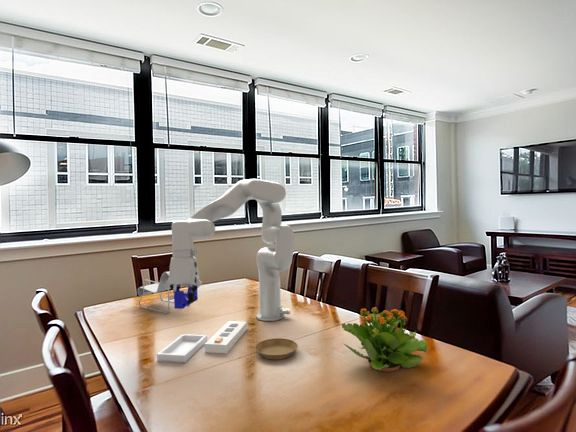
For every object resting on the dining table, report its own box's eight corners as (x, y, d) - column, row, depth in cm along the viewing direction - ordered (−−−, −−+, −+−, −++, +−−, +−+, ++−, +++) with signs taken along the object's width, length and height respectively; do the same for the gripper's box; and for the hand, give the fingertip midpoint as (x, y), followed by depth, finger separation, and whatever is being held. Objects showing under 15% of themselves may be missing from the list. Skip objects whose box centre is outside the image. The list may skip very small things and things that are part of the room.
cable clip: (186, 299, 140) (186, 284, 139) (197, 299, 139) (197, 284, 138) (170, 308, 128) (170, 291, 128) (182, 308, 127) (181, 292, 127)
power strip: (247, 328, 148) (247, 320, 148) (226, 353, 124) (226, 343, 124) (228, 328, 149) (228, 319, 149) (205, 352, 126) (204, 342, 126)
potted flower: (411, 394, 96) (410, 329, 95) (330, 373, 108) (329, 316, 108) (429, 358, 117) (429, 305, 116) (360, 344, 130) (359, 296, 129)
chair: (169, 314, 171) (168, 273, 170) (137, 306, 184) (135, 268, 183) (191, 306, 182) (190, 268, 181) (159, 300, 195) (158, 264, 195)
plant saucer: (249, 349, 128) (249, 342, 128) (287, 342, 134) (287, 335, 134) (263, 366, 114) (263, 358, 114) (305, 357, 120) (304, 349, 120)
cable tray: (207, 341, 135) (207, 335, 135) (185, 363, 118) (184, 355, 117) (182, 340, 137) (182, 334, 137) (157, 361, 119) (156, 354, 119)
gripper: (208, 252, 134) (210, 300, 135) (167, 252, 138) (169, 299, 139) (199, 255, 127) (201, 306, 128) (156, 255, 131) (158, 304, 131)
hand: (184, 302), depth 133 cm, fingers closed on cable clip, 4 cm apart
